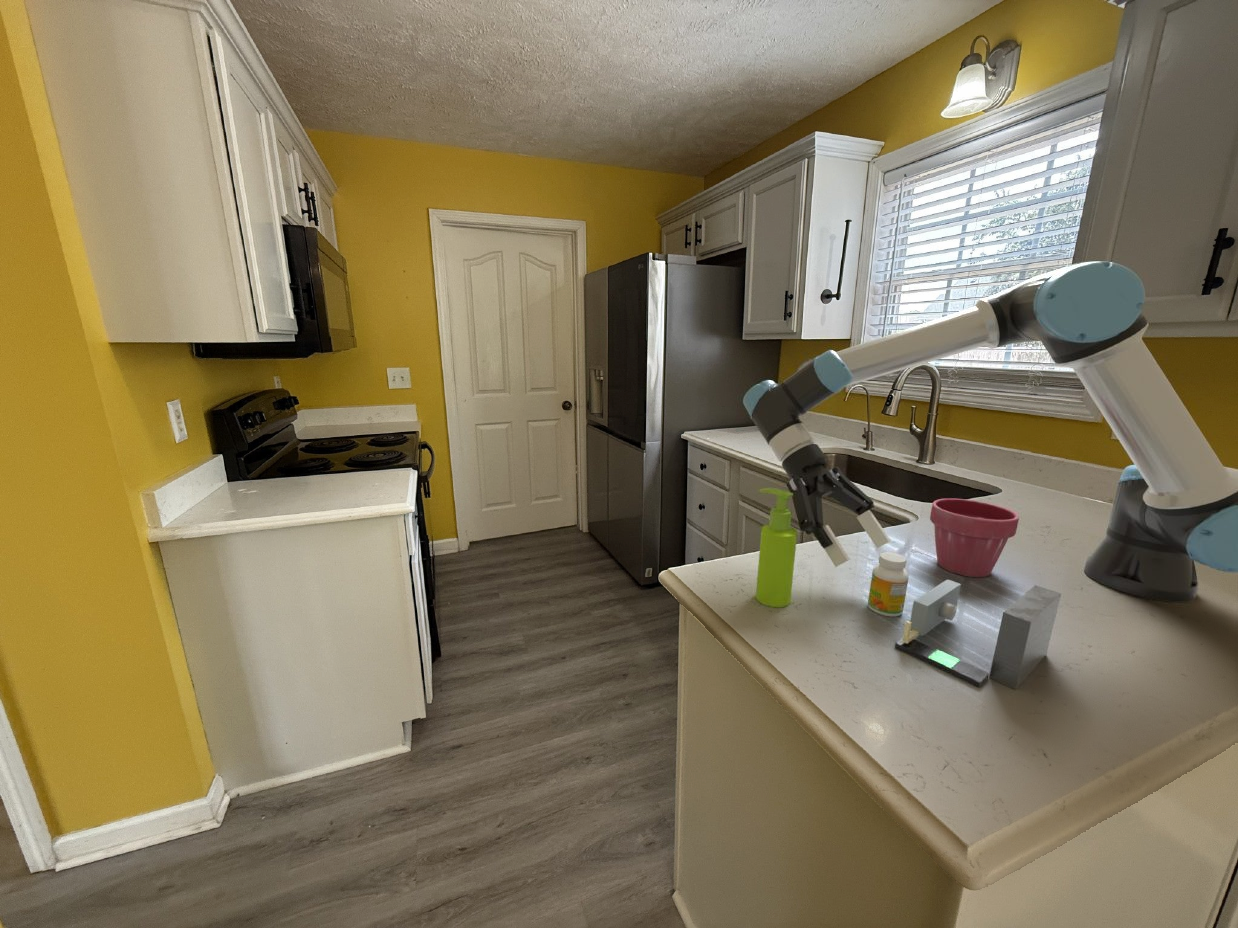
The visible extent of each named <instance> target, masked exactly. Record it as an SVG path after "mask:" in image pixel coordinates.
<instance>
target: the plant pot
mask: <svg viewBox="0 0 1238 928" xmlns="http://www.w3.org/2000/svg"><path fill="white" fill-rule="evenodd" d="M1019 519H1020V516H1019V515H1018V513H1017V512H1015V511H1013V510H1011V509H1009V508H1006V507H1003V506H1000V505H997V504H992V503H988V502H985V501H984V502H982V501H978V500H972V499H963V498H940V499H936V500H934V501H933V502H932V505H931V510H930V515H929V520H930V522H931V523H932V524H934V525H933V527H934V528H933V529H934V540H935V541H934V544H935V552H936V562H937V564H938V565H939V566H940V568H942V569H944V570H946V571H948V572H951V573H953V574H957V575H961V576H965V577H970V578H986V577H989V576H990V575H991V573H992V572H993V570H994V567H995V565H996V564H997V562H998V561H999V558H1000V556H1001V555H1002V552H1003V550H1004V549H1005V546H1006V544H1007V542H1008V539H1009V538H1013V537H1014V536H1016V534H1017V529H1018V526H1019Z"/></svg>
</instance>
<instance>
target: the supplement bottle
mask: <svg viewBox="0 0 1238 928" xmlns="http://www.w3.org/2000/svg"><path fill="white" fill-rule="evenodd" d="M906 567H907V558H906V557H905V556H903V555H902V554H900V553H897V552H896V553H895V552H890V551H889V552H888V551H886V552H881V553H880V554H879V557H878V564H876V565H875V566H873V568H872V574H871V580H870V587H869V592H868V599H867V606H868V608H869V610H871V611H873V612H874V613H876V614H879V615H881V616H884V617H894V618H895V617H899V616H900V615H902V614H903V612H904V607H905V601H906V596H907V595H906V594H907V589H908V583H909V573H908V571H907V570H906Z"/></svg>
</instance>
